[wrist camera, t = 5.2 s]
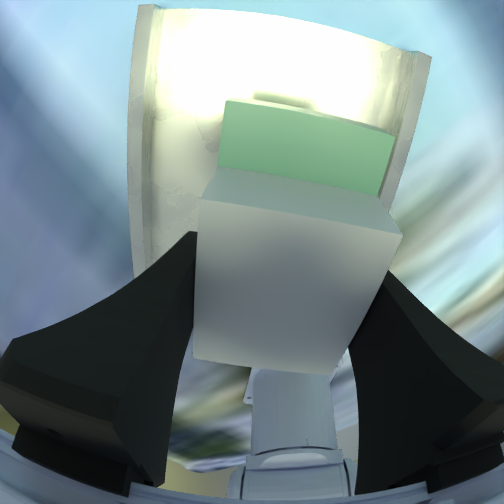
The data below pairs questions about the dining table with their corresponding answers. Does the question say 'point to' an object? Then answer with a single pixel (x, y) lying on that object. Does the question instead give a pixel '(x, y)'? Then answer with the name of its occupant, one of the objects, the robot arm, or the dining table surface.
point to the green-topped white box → (290, 238)
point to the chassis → (250, 87)
